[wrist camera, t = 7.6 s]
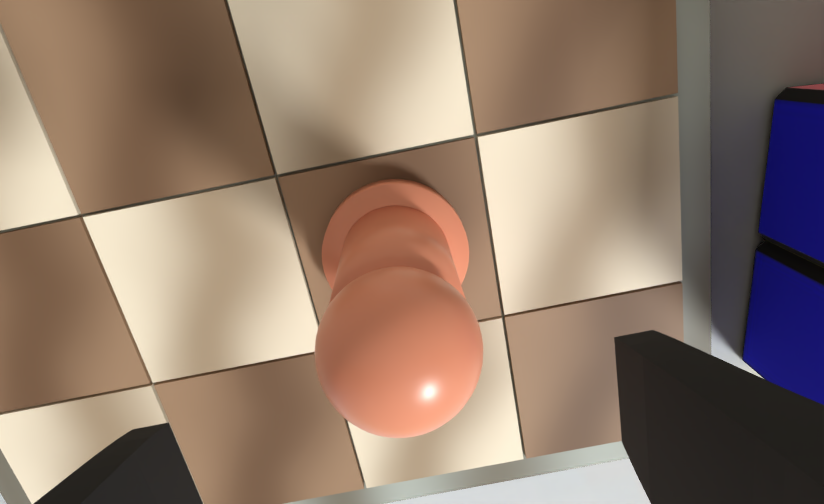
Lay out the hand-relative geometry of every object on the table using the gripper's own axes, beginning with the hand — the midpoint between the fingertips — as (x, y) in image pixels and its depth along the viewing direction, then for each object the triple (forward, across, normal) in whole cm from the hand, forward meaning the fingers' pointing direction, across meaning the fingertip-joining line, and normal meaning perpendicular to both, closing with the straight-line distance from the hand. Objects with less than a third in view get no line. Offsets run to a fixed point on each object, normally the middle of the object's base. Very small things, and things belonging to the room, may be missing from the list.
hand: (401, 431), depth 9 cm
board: (+10, +3, 0) cm, 10 cm away
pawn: (+9, 0, 0) cm, 9 cm away
